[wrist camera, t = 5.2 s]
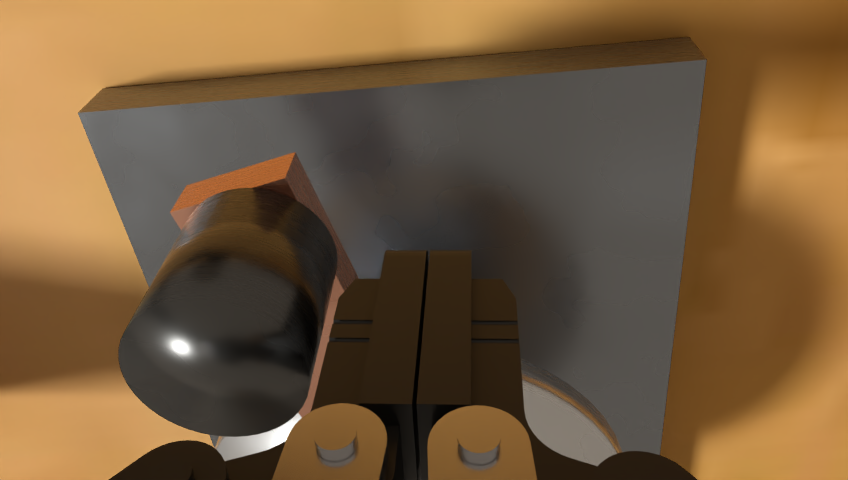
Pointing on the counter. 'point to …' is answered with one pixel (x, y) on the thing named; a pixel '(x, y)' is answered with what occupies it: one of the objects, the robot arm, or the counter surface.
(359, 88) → the base
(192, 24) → the counter surface
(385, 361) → the robot arm
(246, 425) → the handwheel
